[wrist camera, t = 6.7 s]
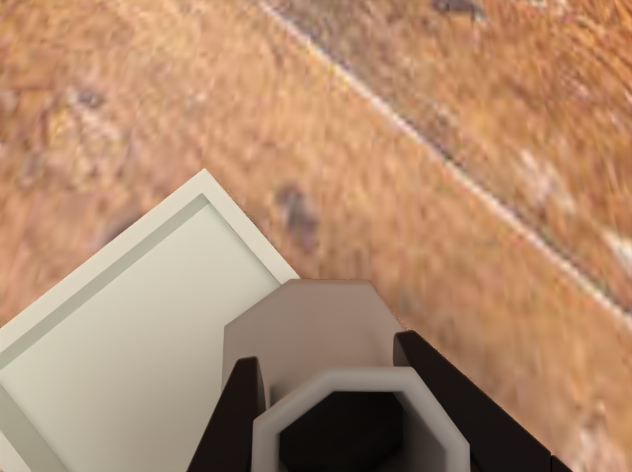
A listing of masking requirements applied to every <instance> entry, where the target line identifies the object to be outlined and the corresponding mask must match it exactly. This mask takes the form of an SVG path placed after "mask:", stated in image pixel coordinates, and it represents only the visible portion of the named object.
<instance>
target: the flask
mask: <svg viewBox="0 0 632 472" xmlns="http://www.w3.org/2000/svg"><path fill="white" fill-rule="evenodd" d="M401 331H407V330H406V329H405V327H404V326H403V325H402V323H401V322H400V321H399V319H398V318H397V317H396V315H395V314H394V313H393V311H392V310H391V308H390V307H389V306H388V304H387V303H386V302H385V300H384V299H383V298H382V296H381V295H380V294H379V292H378V291H377V289H376V288H375V287H374V285H373V284H372V283H371V281H370V280H339V279H289V280H288V281H287V282H285V283H284V284H282V285H281V286H280V287H278V288H277V289H275V290H274V291H273V292H271V293H270V294H269V295H267V296H266V297H264V298H263V299H262V300H260V301H259V302H257V303H256V304H255V305H253V306H252V307H250V308H249V309H248V310H246V311H245V312H243V313H242V314H241V315H239V316H238V317H237V318H235V319H234V320H232V321H231V322H230V323H228V324H227V325H225V326H224V343H223V364H222V385H221V393H222V391H223V389H224V387H225V384H226V382H227V380H228V378H229V376H230V373H231V371H232V369H233V367H234V365H235V363H236V361H237V360H238V359H239V358H243V357H249V356H256V357H257V358H258V360H259V364H260V369H261V374H262V378H263V383H264V390H265V400H266V410H267V411H265V412H264V413H263V414H261V415H260V416H259V417H257V418H256V419H255V420H254V422H253V442H252V470H251V472H470V447H469V443H468V442H467V441H466V439H465V438H464V436H463V435H462V434H461V432H460V431H459V430H458V428H457V427H456V426H455V424H454V423H453V421H452V420H451V419H450V417H449V416H448V415H447V413H446V412H445V410H444V409H443V408H442V406H441V405H440V404H439V402H438V401H437V400H436V398H435V397H434V395H433V394H432V393H431V391H430V390H429V389H428V387H427V386H426V385H425V383H424V382H423V380H422V379H421V378H420V376H419V375H418V374H417V372H416V371H415V369H413V368H412V367H394V366H393V338H394V334H395V333H396V332H401ZM406 412H407V415H406Z"/></svg>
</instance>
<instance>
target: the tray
mask: <svg viewBox="0 0 632 472" xmlns="http://www.w3.org/2000/svg"><path fill="white" fill-rule="evenodd" d="M289 279H301V278H300V277H299V276H298V275H297V274H296V272H295V271H294V270H293V269H292V268H291V267H290V265H289V264H288V263H287V262H286V261H285V260H284V259H283V257H282V256H281V255H280V254H279V253H278V252H277V251H276V249H275V248H274V247H273V246H272V245H271V244H270V242H269V241H268V240H267V239H266V238H265V237H264V236H263V234H262V233H261V232H260V231H259V230H258V229H257V227H256V226H255V225H254V224H253V223H252V222H251V221H250V219H249V218H248V217H247V216H246V215H245V214H244V212H243V211H242V210H241V209H240V208H239V207H238V206H237V204H236V203H235V202H234V201H233V200H232V199H231V197H230V196H229V195H228V194H227V193H226V192H225V191H224V189H223V188H222V187H221V186H220V185H219V184H218V183H217V181H216V180H215V179H214V178H213V177H212V176H211V174H210V173H209V172H208V171H207V170H206V169H205V168H204V169H203V170H201V171H200V172H199V173H198V174H196V175H195V176H194V177H192V178H191V179H190V180H189V181H187V182H186V183H185V184H184V185H182V186H181V187H180V188H178V189H177V190H176V191H175V192H173V193H172V194H171V195H170V196H168V197H167V198H166V199H164V200H163V201H162V202H161V203H159V204H158V205H157V206H156V207H154V208H153V209H152V210H150V211H149V212H148V213H147V214H145V215H144V216H143V217H142V218H140V219H139V220H138V221H136V222H135V223H134V224H133V225H131V226H130V227H129V228H128V229H126V230H125V231H124V232H122V233H121V234H120V235H119V236H117V237H116V238H115V239H114V240H112V241H111V242H110V243H108V244H107V245H106V246H105V247H103V248H102V249H101V250H100V251H98V252H97V253H96V254H94V255H93V256H92V257H91V258H89V259H88V260H87V261H86V262H84V263H83V264H82V265H80V266H79V267H78V268H77V269H75V270H74V271H73V272H72V273H70V274H69V275H68V276H66V277H65V278H64V279H63V280H61V281H60V282H59V283H58V284H56V285H55V286H54V287H52V288H51V289H50V290H49V291H47V292H46V293H45V294H44V295H42V296H41V297H40V298H38V299H37V300H36V301H35V302H33V303H32V304H31V305H30V306H28V307H27V308H26V309H25V310H23V311H22V312H21V313H19V314H18V315H17V316H16V317H14V318H13V319H12V320H11V321H9V322H8V323H7V324H5V325H4V326H3V327H2V328H0V468H1V470H2V471H3V472H186V471H187V468H188V466H189V464H190V462H191V460H192V457H193V455H194V453H195V451H196V449H197V446H198V444H199V442H200V440H201V438H202V435H203V433H204V431H205V429H206V426H207V424H208V422H209V420H210V418H211V415H212V413H213V411H214V409H215V407H216V404H217V402H218V400H219V398H220V396H221V385H222V364H223V343H224V326H225V325H227V324H228V323H230V322H231V321H232V320H234V319H235V318H237V317H238V316H239V315H241V314H242V313H243V312H245V311H246V310H248V309H249V308H250V307H252V306H253V305H255V304H256V303H257V302H259V301H260V300H262V299H263V298H264V297H266V296H267V295H269V294H270V293H271V292H273V291H274V290H275V289H277V288H278V287H280V286H281V285H282V284H284V283H285V282H287V281H288V280H289Z"/></svg>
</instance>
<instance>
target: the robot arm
mask: <svg viewBox="0 0 632 472" xmlns="http://www.w3.org/2000/svg"><path fill="white" fill-rule="evenodd" d="M393 366H394V367H412V368H413V369H415V371H416V372H417V374H418V375H419V376H420V378H421V379H422V380H423V382H424V383H425V385H426V386H427V387H428V389H429V390H430V391H431V393H432V394H433V395H434V397H435V398H436V400H437V401H438V402H439V404H440V405H441V406H442V408H443V409H444V410H445V412H446V413H447V415H448V416H449V417H450V419H451V420H452V421H453V423H454V424H455V426H456V427H457V428H458V430H459V431H460V432H461V434H462V435H463V436H464V438H465V439H466V441H467V442H468V443H469V447H470V472H573V471H572V470H571V469H569V468H568V467H567V466H566V465H565V464H564V463H563V462H562V461H560V460H559V459H558V458H557V457H556V456H555V455H552V456H551V452H550V451H549V450H548V449H547V448H546V447H545V446H543V445H542V444H541V443H540V442H539V441H538V440H537V439H536V438H534V437H533V436H532V435H531V434H530V433H529V432H528V431H527V430H526V429H524V428H523V427H522V426H521V425H520V424H519V423H518V422H517V421H515V420H514V419H513V418H512V417H511V416H510V415H509V414H508V413H506V412H505V411H504V410H503V409H502V408H501V407H500V406H499V405H497V404H496V403H495V402H494V401H493V400H492V399H491V398H490V397H488V396H487V395H486V394H485V393H484V392H483V391H482V390H481V389H479V388H478V387H477V386H476V385H475V384H474V383H473V382H472V381H471V380H469V379H468V378H467V377H466V376H465V375H464V374H463V373H462V372H460V371H459V370H458V369H457V368H456V367H455V366H454V365H453V364H451V363H450V362H449V361H448V360H447V359H446V358H445V357H444V356H442V355H441V354H440V353H439V352H438V351H437V350H436V349H435V348H433V347H432V346H431V345H430V344H429V343H428V342H427V341H426V340H424V339H423V338H422V337H421V336H420V335H419V334H418V333H417V332H415V331H413V330H407V331H401V332H396V333H395V334H394V338H393ZM265 411H267V410H266V400H265V390H264V383H263V378H262V374H261V369H260V364H259V360H258V358H257V357H256V356H249V357H243V358H239V359H238V360H237V361H236V363H235V365H234V367H233V369H232V371H231V373H230V376H229V378H228V380H227V382H226V384H225V387H224V389H223V391H222V393H221V396H220V398H219V400H218V402H217V404H216V407H215V409H214V411H213V413H212V415H211V418H210V420H209V422H208V424H207V426H206V429H205V431H204V433H203V435H202V438H201V440H200V442H199V444H198V446H197V449H196V451H195V453H194V455H193V457H192V460H191V462H190V464H189V466H188V468H187V471H186V472H251V470H252V442H253V422H254V420H255V419H256V418H257V417H259V416H260V415H261V414H263V413H264V412H265ZM406 415H407V412H406Z"/></svg>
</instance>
